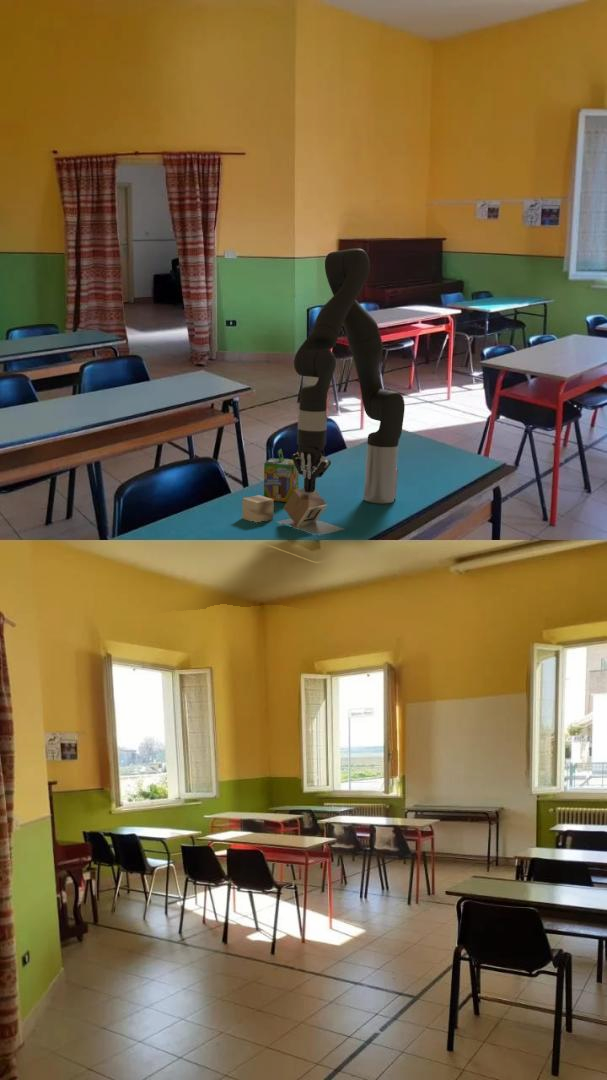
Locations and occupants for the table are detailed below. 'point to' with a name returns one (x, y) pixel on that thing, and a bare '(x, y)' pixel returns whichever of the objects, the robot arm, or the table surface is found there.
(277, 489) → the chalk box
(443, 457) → the table surface
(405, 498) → the table surface
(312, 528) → the reading mat
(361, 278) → the robot arm
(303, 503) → the walnut block
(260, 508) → the beech block
